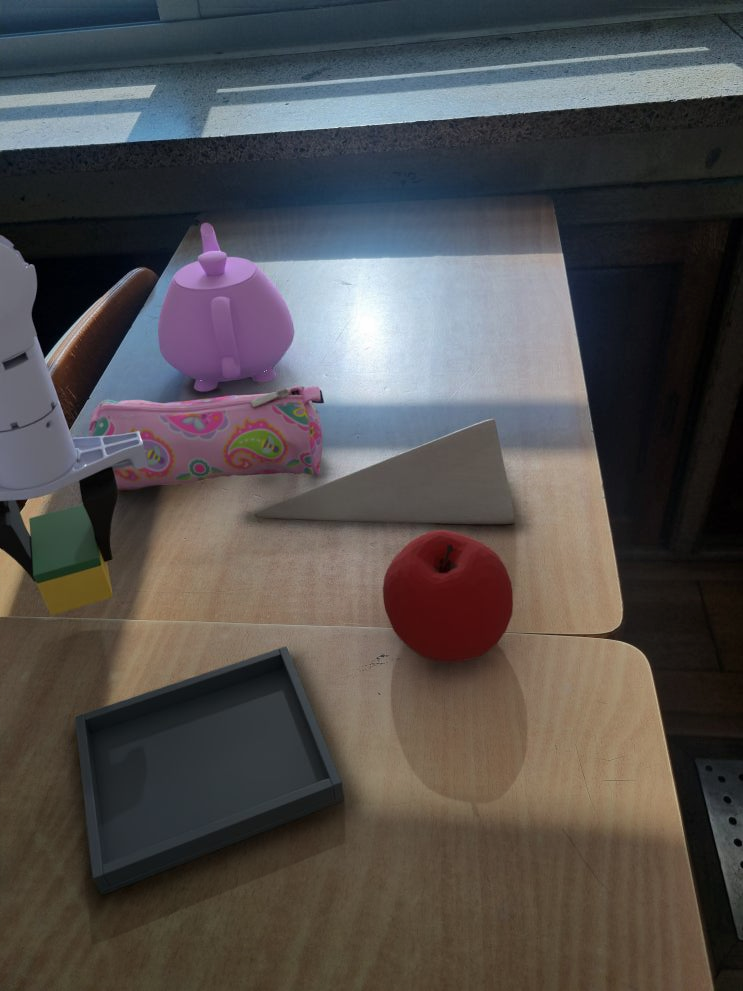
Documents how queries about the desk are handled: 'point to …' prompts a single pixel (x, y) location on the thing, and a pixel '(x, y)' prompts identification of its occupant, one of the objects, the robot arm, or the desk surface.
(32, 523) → the sponge
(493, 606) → the apple
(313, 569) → the desk surface
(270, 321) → the teapot
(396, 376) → the desk surface
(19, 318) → the robot arm
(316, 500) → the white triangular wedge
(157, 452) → the pencil case
